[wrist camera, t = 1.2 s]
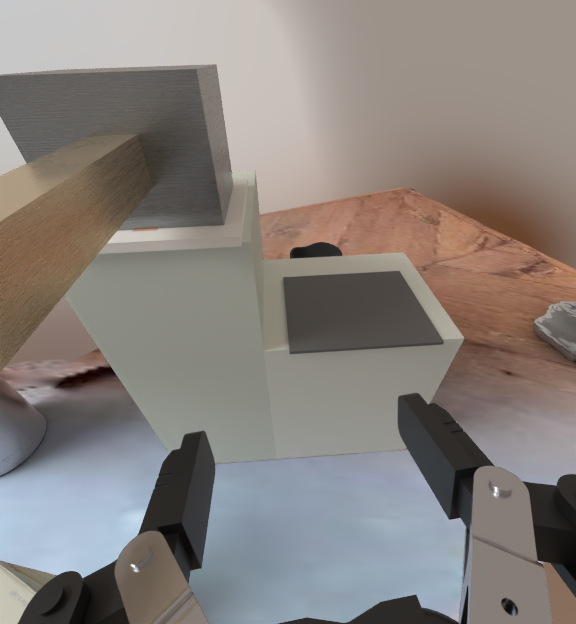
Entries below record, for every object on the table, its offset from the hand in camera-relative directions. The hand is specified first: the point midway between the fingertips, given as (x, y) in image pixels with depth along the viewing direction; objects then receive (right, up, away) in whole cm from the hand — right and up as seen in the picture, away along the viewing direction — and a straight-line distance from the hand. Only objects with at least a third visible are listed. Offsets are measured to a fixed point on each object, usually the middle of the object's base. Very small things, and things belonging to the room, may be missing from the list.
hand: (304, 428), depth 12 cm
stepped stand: (0, -9, +29) cm, 30 cm away
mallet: (-9, +8, +3) cm, 12 cm away
